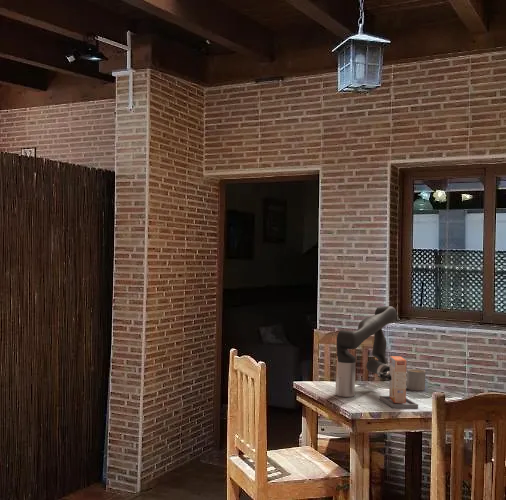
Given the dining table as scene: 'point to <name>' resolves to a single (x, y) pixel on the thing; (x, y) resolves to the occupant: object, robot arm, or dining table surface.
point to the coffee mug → (415, 379)
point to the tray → (390, 403)
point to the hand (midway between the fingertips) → (397, 378)
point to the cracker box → (397, 379)
